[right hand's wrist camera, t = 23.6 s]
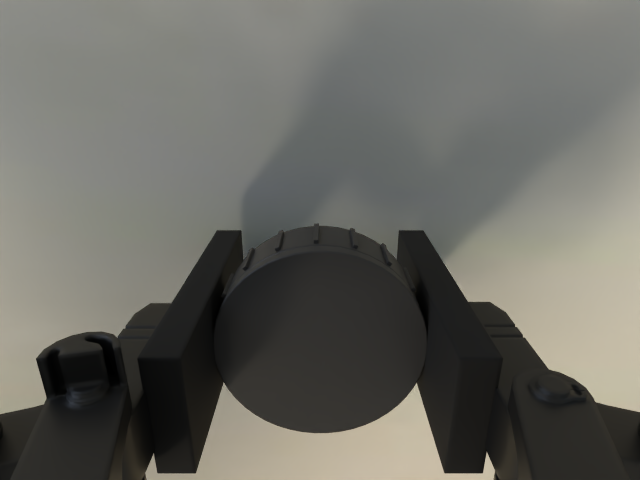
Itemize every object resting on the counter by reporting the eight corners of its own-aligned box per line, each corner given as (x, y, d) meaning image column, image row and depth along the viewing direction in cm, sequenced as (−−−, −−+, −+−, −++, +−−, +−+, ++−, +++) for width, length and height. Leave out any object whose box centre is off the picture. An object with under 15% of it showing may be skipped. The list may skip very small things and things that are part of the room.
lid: (327, 180, 10) (328, 199, 9) (455, 320, 12) (475, 358, 10) (183, 306, 12) (163, 342, 10) (314, 420, 13) (313, 467, 12)
